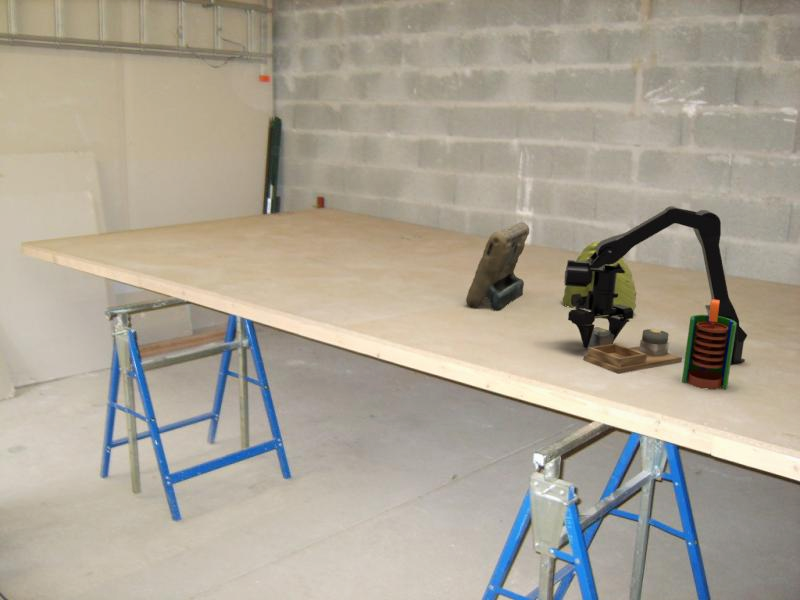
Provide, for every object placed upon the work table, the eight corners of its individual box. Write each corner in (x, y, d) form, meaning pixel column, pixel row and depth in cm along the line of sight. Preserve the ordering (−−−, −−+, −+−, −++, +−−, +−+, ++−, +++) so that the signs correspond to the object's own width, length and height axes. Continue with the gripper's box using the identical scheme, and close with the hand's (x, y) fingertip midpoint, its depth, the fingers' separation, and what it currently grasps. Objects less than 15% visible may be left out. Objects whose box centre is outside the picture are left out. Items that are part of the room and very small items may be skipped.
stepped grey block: (612, 352, 217) (614, 331, 216) (598, 354, 214) (600, 333, 213) (595, 346, 222) (598, 326, 221) (582, 348, 219) (584, 327, 218)
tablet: (486, 288, 288) (491, 218, 283) (525, 292, 284) (531, 221, 278) (464, 308, 258) (469, 229, 252) (507, 313, 254) (513, 233, 248)
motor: (685, 387, 191) (696, 304, 187) (678, 375, 200) (688, 295, 195) (730, 391, 190) (742, 307, 185) (721, 379, 198) (733, 299, 194)
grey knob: (671, 354, 212) (674, 332, 211) (654, 357, 209) (657, 334, 208) (652, 347, 218) (654, 326, 216) (635, 350, 214) (637, 328, 213)
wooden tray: (681, 361, 211) (683, 345, 210) (618, 373, 199) (620, 356, 198) (645, 349, 221) (647, 333, 220) (583, 359, 209) (584, 343, 208)
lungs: (644, 316, 258) (653, 241, 252) (609, 321, 250) (617, 243, 244) (589, 299, 279) (596, 229, 273) (554, 303, 271) (561, 231, 265)
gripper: (606, 279, 226) (601, 334, 229) (556, 284, 216) (551, 341, 219) (637, 288, 217) (631, 344, 220) (586, 293, 207) (580, 352, 210)
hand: (598, 345), depth 218 cm, fingers open, 9 cm apart
